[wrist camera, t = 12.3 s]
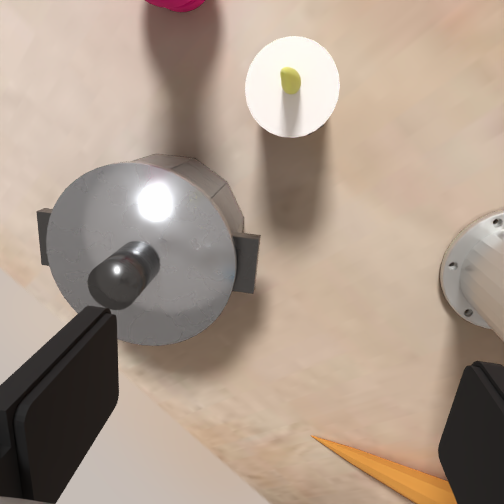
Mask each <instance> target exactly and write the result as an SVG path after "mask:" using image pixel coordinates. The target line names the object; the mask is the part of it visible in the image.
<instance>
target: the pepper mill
mask: <svg viewBox="0 0 504 504" xmlns="http://www.w3.org/2000/svg"><path fill="white" fill-rule="evenodd" d="M145 1H147V2H148V3H150V4H153V5H156V6H158V7H164V8H167V9H169V10H172V11H175V12H187V11H191V10H193V9H196V8H197V7H199V6H200V5H201V4H202V3H203V2H204V1H205V0H145Z"/></svg>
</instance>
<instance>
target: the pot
mask: <svg viewBox="0 0 504 504" xmlns="http://www.w3.org/2000/svg"><path fill="white" fill-rule="evenodd" d="M130 162H146V163H153V164H156V165H160V166H164V167H167V168H169V169H171V170H174V171H176V172H178V173H180V174H182V175H183V176H185V177H187V178H189V179H190V180H192V181H193V182H194V183H195V184H197V185H198V186H199V187H201V188H202V189H203V190H204V191H205V192H206V193H207V194H208V195H209V196H210V197H211V198H212V200H213V201H214V202H215V203H216V205H217V206H218V207H219V209H220V210H221V212H222V213H223V215H224V217H225V218H226V220H227V223H228V225H229V227H230V229H231V232H232V235H233V239H234V242H235V248H236V254H237V270H236V278H235V282H234V286H233V289H232V291H237V292H245V293H252V294H253V293H254V289H255V282H256V273H257V263H258V254H259V245H260V236H261V235H255V234H247V233H243V222H244V216H243V214H242V212H241V210H240V208H239V206H238V204H237V201H236V199H235V197H234V195H233V193H232V191H231V189H230V186H229V184H228V182H227V181H225V180H224V179H223V178H221V177H220V176H219V175H217V174H216V173H214V172H213V171H212V170H210V169H209V168H208V167H206V166H205V165H204V164H202V163H201V162H199V161H198V160H197V159H194V158H190V157H181V156H172V155H163V154H153V155H150V156H147V157H143V158H140V159H137V160H134V161H130ZM52 210H53V209H48V208H44V209H41V210H39V211H37V221H38V231H39V242H40V252H41V263H42V265H47V266H49V262H48V256H47V248H46V236H47V227H48V222H49V218H50V215H51V213H52Z"/></svg>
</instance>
